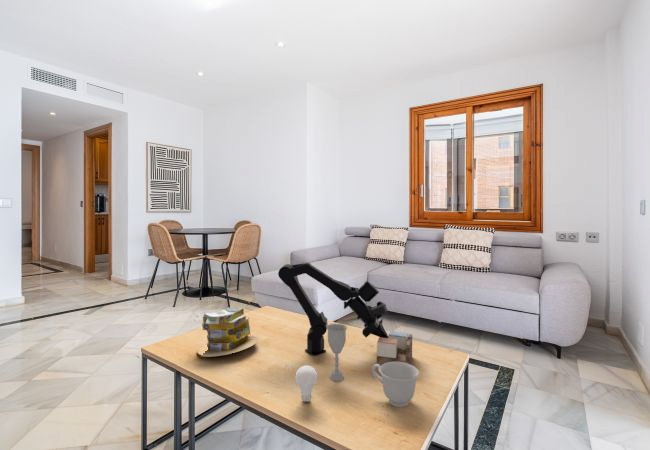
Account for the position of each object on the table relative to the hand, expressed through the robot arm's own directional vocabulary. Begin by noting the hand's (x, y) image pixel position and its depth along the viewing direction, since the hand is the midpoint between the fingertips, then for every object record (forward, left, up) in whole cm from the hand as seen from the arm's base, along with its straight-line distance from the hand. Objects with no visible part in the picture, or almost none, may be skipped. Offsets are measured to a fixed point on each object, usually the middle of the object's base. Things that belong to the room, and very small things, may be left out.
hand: (388, 339), depth 136 cm
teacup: (-23, -21, -7) cm, 32 cm away
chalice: (-27, +1, -7) cm, 28 cm away
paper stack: (-46, +48, -7) cm, 67 cm away
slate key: (+2, -3, -3) cm, 5 cm away
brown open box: (-2, -5, -7) cm, 9 cm away
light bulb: (-44, -4, -7) cm, 45 cm away
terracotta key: (-6, -5, -3) cm, 8 cm away
